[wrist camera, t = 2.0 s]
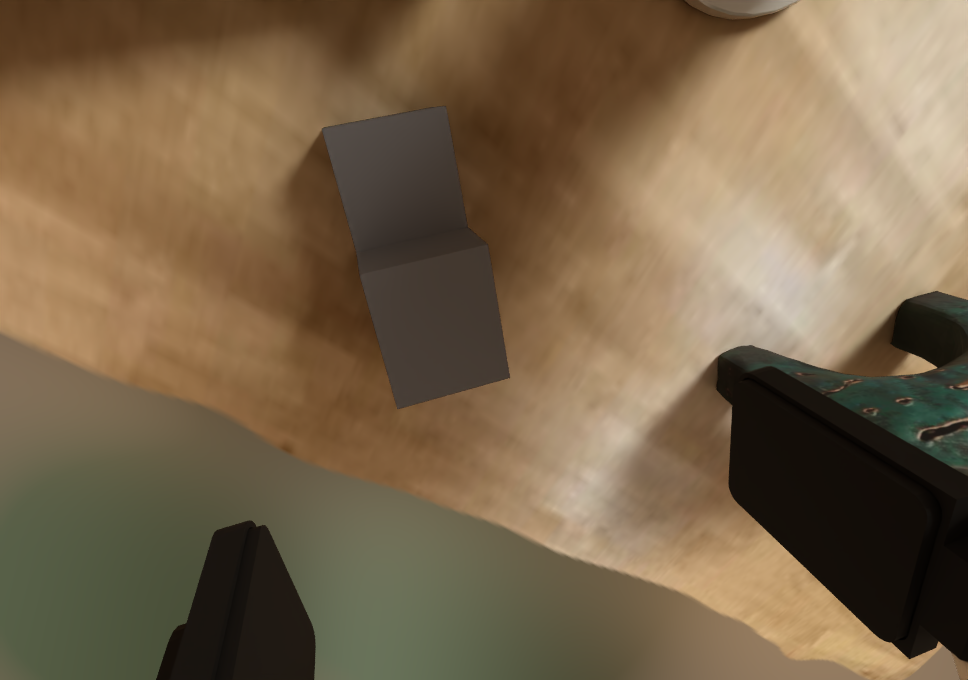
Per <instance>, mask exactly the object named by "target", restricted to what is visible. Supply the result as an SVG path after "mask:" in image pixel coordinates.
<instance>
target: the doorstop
mask: <svg viewBox="0 0 968 680" xmlns="http://www.w3.org/2000/svg"><path fill="white" fill-rule="evenodd" d="M322 132H323V135H324V139H325V142H326V146H327V150H328V153H329V157H330V160H331V164H332V167H333V171H334V174H335V178H336V182H337V185H338V189H339V192H340V196H341V199H342V203H343V207H344V210H345V214H346V217H347V221H348V224H349V228H350V231H351V235H352V239H353V242H354V246H355V249H356V253H357V261H358V268H359V275H360V279H361V282H362V286H363V289H364V293H365V296H366V300H367V303H368V307H369V311H370V314H371V318H372V321H373V325H374V328H375V332H376V335H377V339H378V342H379V346H380V349H381V353H382V356H383V360H384V363H385V367H386V370H387V374H388V378H389V381H390V385H391V388H392V392H393V395H394V399H395V402H396V406H397V409H400V408H404V407H407V406H411V405H415V404H418V403H422V402H425V401H429V400H432V399H436V398H440V397H443V396H447V395H450V394H454V393H457V392H461V391H465V390H468V389H472V388H475V387H479V386H483V385H486V384H490V383H493V382H497V381H500V380H504V379H508V378H510V374H509V368H508V362H507V356H506V350H505V344H504V338H503V332H502V326H501V320H500V314H499V308H498V302H497V296H496V290H495V284H494V278H493V272H492V266H491V260H490V254H489V247H488V244H487V243H486V242H485V241H483V240H482V239H481V238H480V237H479V236H478V235H476V234H475V233H474V232H473V231H472V230H471V229H469V228H468V225H467V220H466V214H465V209H464V203H463V198H462V192H461V186H460V181H459V175H458V170H457V164H456V159H455V153H454V148H453V142H452V137H451V131H450V126H449V120H448V114H447V109H446V106H439V107H431V108H425V109H420V110H415V111H409V112H404V113H399V114H393V115H388V116H383V117H377V118H372V119H367V120H361V121H356V122H351V123H345V124H340V125H335V126H329V127H324V128H323V129H322Z"/></svg>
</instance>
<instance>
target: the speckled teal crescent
mask: <svg viewBox="0 0 968 680" xmlns="http://www.w3.org/2000/svg"><path fill="white" fill-rule="evenodd" d="M890 344H892V345H893V346H895V347H896V348H899V349H901V350H904V351H906V352H909V353H912V354H914V355H916V356H919V357H921V358H923V359H925V360H926V361H928V362H930V363H931V364H933V365H935V366H936V367H937V368H936V369H933V370H930V371H927V372H924V373H920V374H914V375H899V376H886V377H865V376H857V375H848V374H842V373H838V372H834V371H830V370H827V369H822V368H818V367H815V366H812V365H809V364H806V363H803V362H801V361H797V360H794V359H790V358H787V357H784V356H782V355H779V354H776V353H773V352H771V351H768V350H764V349H761V348H757V347H754V346H752V345H750V346H740V347H737V348H734V349H731V350H729V351H727V352H725V353H723V354H722V355H720V357H719V361H718V377H719V378H718V382H717V388H716V390H717V391H718V392H719V393H720V394H721V395H722V396H723V397H724V398H725V399H726V400H727V401H728V402H729V403H731V404H733V389H734V385H735V384H736V383H738V380H739V377H740V376H741V375H742V374H743V373H746V372H749V371H752V370H756V369H759V368H762V367H766V366H773V367H775V368H777V369H779V370H781V371H783V372H784V373H786V374H788V375H790V376H792V377H793V378H795V379H797V380H799V381H800V382H802V383H804V384H806V385H807V386H809V387H811V388H813V389H815V390H816V391H818V392H820V393H822V394H823V395H825V396H827V397H829V398H830V399H832V400H834V401H836V402H837V403H839V404H841V405H843V406H845V407H846V408H848V409H850V410H852V411H853V412H855V413H857V414H859V415H860V416H862V417H864V418H866V419H867V420H869V421H871V422H873V423H875V424H876V425H878V426H880V427H882V428H883V429H885V430H887V431H889V432H890V433H892V434H894V435H896V436H897V437H899V438H901V439H903V440H905V441H906V442H908V443H910V444H912V445H913V446H915V447H917V448H919V449H920V450H922V451H924V452H926V453H927V454H929V455H931V456H933V457H935V458H936V459H938V460H940V461H942V462H943V463H945V464H947V465H949V466H950V467H952V468H954V469H956V470H957V471H959V472H961V473H963V474H965V475H966V476H968V300H966V299H962V298H959V297H955V296H952V295H948V294H945V293H941V292H938V291H935V292H931V293H927V294H924V295H920V296H916V297H913V298H910V299H907V300H906V301H905V302H904V303H903V305H902V306H901V308H900V309H899V312H898V315H897V318H896V321H895V328H894V334H893V341H892V342H891V343H890Z"/></svg>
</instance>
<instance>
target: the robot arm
mask: <svg viewBox="0 0 968 680" xmlns="http://www.w3.org/2000/svg"><path fill="white" fill-rule="evenodd" d="M685 1H686V2H687V3H688V4H689V5H690V6H692V7H694V8H696V9H698V10H700V11H702V12H704V13H706V14H708V15H711V16H716V17H721V18H726V19H730V20H732V19H749V18H755V17H759V16H763V15H767V14H772V13H775V12H778V11H780V10H782V9H785V8H787V7H789V6H792V5H794V4H796V3H797V2H799V1H800V0H685ZM729 489H730V492H731V494H732V496H733V498H734V499H735V500H736V502H737V503H738V504H739V505H740V506H741V507H742V508H744V509H745V510H746V511H747V512H748V513H749V514H750V515H751V516H752V517H753V518H754V519H755V520H756V521H757V522H758V523H759V524H760V525H761V526H762V527H763V528H764V529H765V530H766V531H767V532H769V533H770V534H771V535H772V536H773V537H774V538H775V539H776V540H777V541H778V542H779V543H780V544H781V545H782V546H783V547H784V548H785V549H786V550H787V551H788V552H789V553H790V554H791V555H793V556H794V557H795V558H796V559H797V560H798V561H799V562H800V563H801V564H802V565H803V566H804V567H805V568H806V569H807V570H808V571H809V572H810V573H811V574H812V575H813V576H814V577H815V578H817V579H818V580H819V581H820V582H821V583H822V584H823V585H824V586H825V587H826V588H827V589H828V590H829V591H830V592H831V593H832V594H833V595H834V596H835V597H836V598H837V599H838V600H839V601H840V602H842V603H843V604H844V605H845V606H846V607H847V608H848V609H849V610H850V611H851V612H852V613H853V614H854V615H855V616H856V617H857V618H858V619H859V620H860V621H861V622H862V623H863V624H864V625H866V626H867V627H868V628H869V629H870V630H871V631H872V632H873V633H874V634H875V635H876V636H877V637H879V638H880V639H882V640H884V641H886V642H892V643H893V644H894V645H895V646H896V647H897V648H898V649H899V650H900V651H901V652H902V653H903V654H904V655H905V656H907V657H908V658H909V659H911V658H913V657H916V656H918V655H920V654H923V653H925V652H927V651H930V650H932V649H934V648H936V646H937V643H938V641H939V642H940V643H941V644H942V645H944V646H945V647H946V648H947V649H948V650H949V651H951V653H952V656H953V659H954V662H955V666H956V669H957V672H958V675H959V679H960V680H968V476H966V475H965V474H963V473H961V472H959V471H957V470H956V469H954V468H952V467H950V466H949V465H947V464H945V463H943V462H942V461H940V460H938V459H936V458H935V457H933V456H931V455H929V454H927V453H926V452H924V451H922V450H920V449H919V448H917V447H915V446H913V445H912V444H910V443H908V442H906V441H905V440H903V439H901V438H899V437H897V436H896V435H894V434H892V433H890V432H889V431H887V430H885V429H883V428H882V427H880V426H878V425H876V424H875V423H873V422H871V421H869V420H867V419H866V418H864V417H862V416H860V415H859V414H857V413H855V412H853V411H852V410H850V409H848V408H846V407H845V406H843V405H841V404H839V403H837V402H836V401H834V400H832V399H830V398H829V397H827V396H825V395H823V394H822V393H820V392H818V391H816V390H815V389H813V388H811V387H809V386H807V385H806V384H804V383H802V382H800V381H799V380H797V379H795V378H793V377H792V376H790V375H788V374H786V373H784V372H783V371H781V370H779V369H777V368H775V367H773V366H766V367H762V368H759V369H756V370H752V371H749V372H746V373H743V374H742V375H741V376H740V377H739V380H738V383H736V384H735V385H734V389H733V404H732V424H731V444H730V464H729ZM314 670H315V635H314V630H313V626H312V624H311V621H310V619H309V617H308V615H307V612H306V610H305V608H304V606H303V604H302V602H301V599H300V597H299V595H298V593H297V591H296V589H295V586H294V584H293V582H292V580H291V578H290V576H289V573H288V571H287V569H286V567H285V564H284V562H283V560H282V558H281V556H280V553H279V551H278V549H277V547H276V545H275V543H274V540H273V538H272V536H271V534H270V532H269V530H268V528H267V527H266V526H265V525H262V526H258V527H256V525H255V523H254V522H253V521H246V522H242V523H239V524H236V525H232V526H229V527H225V528H222V529H219V530H217V531H216V532H215V533H214V535H213V537H212V540H211V543H210V547H209V550H208V553H207V557H206V560H205V564H204V567H203V570H202V573H201V577H200V580H199V583H198V587H197V590H196V593H195V597H194V600H193V603H192V607H191V610H190V613H189V617H188V620H187V623H186V624H183V625H180V626H178V627H177V628H176V629H175V630H174V631H173V633H172V635H171V637H170V639H169V642H168V645H167V648H166V651H165V654H164V657H163V660H162V663H161V666H160V669H159V672H158V676H157V679H156V680H314Z"/></svg>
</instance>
